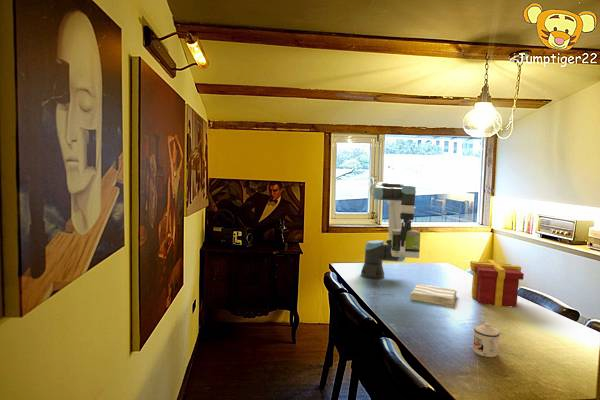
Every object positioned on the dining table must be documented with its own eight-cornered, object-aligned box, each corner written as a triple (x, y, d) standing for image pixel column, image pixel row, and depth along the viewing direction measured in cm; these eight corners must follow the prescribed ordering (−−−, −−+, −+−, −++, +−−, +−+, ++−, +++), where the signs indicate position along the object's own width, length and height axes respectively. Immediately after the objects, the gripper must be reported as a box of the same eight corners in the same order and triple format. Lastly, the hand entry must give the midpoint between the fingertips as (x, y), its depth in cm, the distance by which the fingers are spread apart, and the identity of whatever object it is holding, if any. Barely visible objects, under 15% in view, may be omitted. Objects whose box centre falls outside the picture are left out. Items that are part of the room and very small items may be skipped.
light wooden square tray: (416, 290, 238) (416, 283, 238) (456, 296, 229) (456, 289, 229) (410, 299, 220) (411, 292, 220) (453, 306, 211) (454, 299, 211)
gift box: (464, 291, 240) (467, 257, 239) (510, 295, 235) (513, 261, 234) (474, 304, 216) (477, 267, 214) (524, 310, 211) (528, 272, 209)
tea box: (416, 255, 233) (418, 230, 232) (419, 258, 223) (421, 232, 223) (390, 253, 236) (391, 228, 235) (391, 256, 226) (393, 230, 225)
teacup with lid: (468, 347, 162) (470, 319, 161) (489, 347, 163) (491, 319, 162) (484, 361, 150) (487, 331, 149) (507, 361, 151) (510, 331, 150)
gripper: (409, 214, 216) (406, 254, 217) (418, 211, 237) (415, 248, 238) (395, 213, 219) (393, 252, 220) (405, 210, 240) (402, 246, 242)
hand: (404, 250), depth 229 cm, fingers closed on tea box, 11 cm apart
